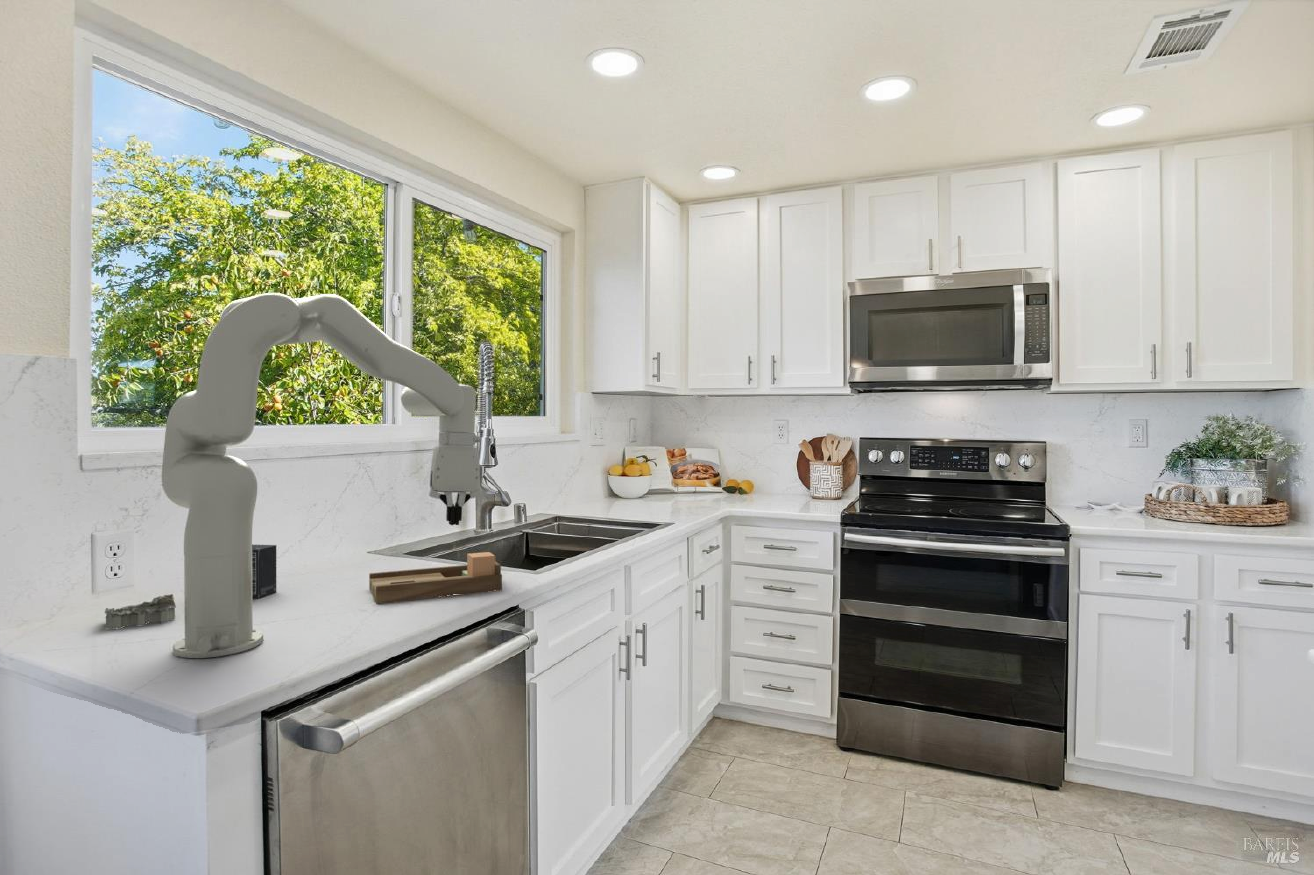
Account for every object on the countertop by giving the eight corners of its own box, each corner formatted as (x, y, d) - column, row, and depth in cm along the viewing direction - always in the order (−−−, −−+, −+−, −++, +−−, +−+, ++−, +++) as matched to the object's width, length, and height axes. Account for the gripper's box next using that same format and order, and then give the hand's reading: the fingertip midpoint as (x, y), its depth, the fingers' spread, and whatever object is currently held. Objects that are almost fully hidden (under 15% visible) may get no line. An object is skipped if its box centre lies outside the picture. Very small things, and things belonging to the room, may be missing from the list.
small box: (278, 591, 153) (278, 543, 153) (259, 599, 147) (258, 549, 146) (233, 590, 154) (233, 542, 154) (211, 597, 148) (211, 547, 147)
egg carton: (176, 614, 136) (176, 593, 136) (175, 623, 130) (175, 601, 130) (106, 622, 130) (106, 600, 130) (102, 632, 124) (102, 609, 124)
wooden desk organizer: (501, 590, 156) (501, 565, 156) (376, 603, 144) (376, 576, 144) (486, 577, 168) (486, 554, 168) (369, 588, 156) (369, 564, 156)
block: (495, 578, 157) (495, 555, 157) (472, 580, 155) (472, 557, 154) (489, 573, 161) (489, 551, 161) (467, 575, 159) (467, 553, 159)
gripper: (486, 441, 161) (483, 521, 161) (418, 439, 154) (415, 523, 154) (494, 442, 154) (491, 525, 154) (424, 440, 148) (421, 527, 147)
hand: (453, 524), depth 154 cm, fingers closed
